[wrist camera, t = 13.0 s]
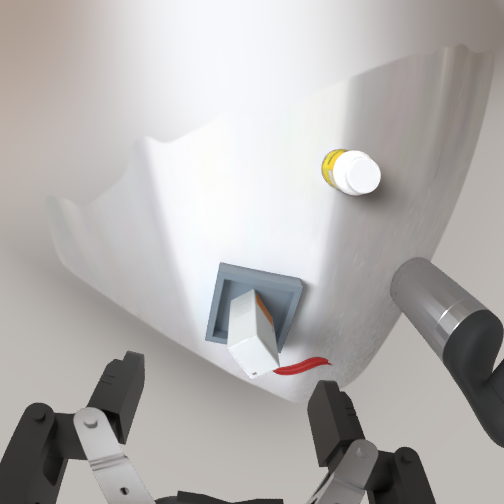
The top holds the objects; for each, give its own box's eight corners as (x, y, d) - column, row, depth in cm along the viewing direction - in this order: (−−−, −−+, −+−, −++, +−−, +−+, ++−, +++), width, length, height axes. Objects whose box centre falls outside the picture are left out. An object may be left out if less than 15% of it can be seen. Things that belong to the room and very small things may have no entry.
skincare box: (273, 317, 46) (281, 368, 35) (249, 328, 46) (250, 381, 35) (254, 286, 44) (257, 334, 33) (229, 299, 45) (224, 349, 33)
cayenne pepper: (335, 355, 51) (338, 362, 49) (329, 373, 52) (331, 380, 50) (270, 353, 50) (271, 360, 48) (266, 372, 51) (267, 379, 50)
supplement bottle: (348, 143, 38) (377, 144, 29) (362, 178, 40) (393, 189, 30) (313, 157, 38) (334, 161, 29) (328, 193, 40) (352, 208, 31)
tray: (299, 278, 45) (303, 287, 42) (278, 341, 49) (280, 353, 46) (219, 262, 43) (218, 270, 41) (206, 329, 47) (204, 340, 45)
